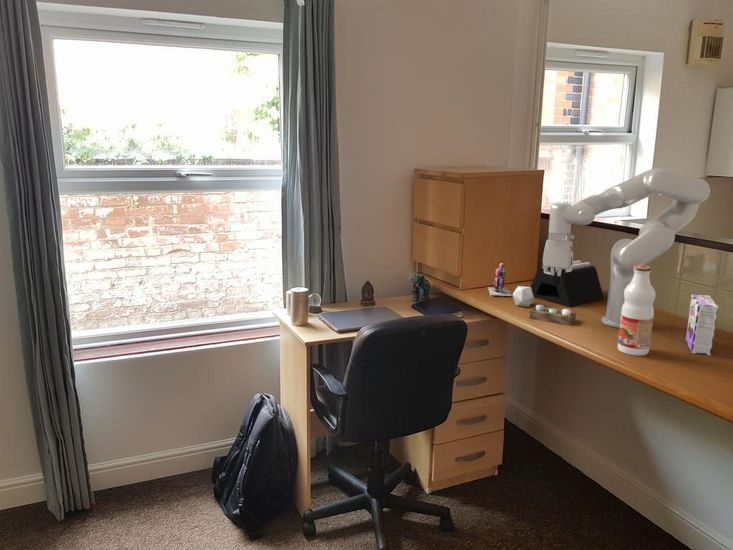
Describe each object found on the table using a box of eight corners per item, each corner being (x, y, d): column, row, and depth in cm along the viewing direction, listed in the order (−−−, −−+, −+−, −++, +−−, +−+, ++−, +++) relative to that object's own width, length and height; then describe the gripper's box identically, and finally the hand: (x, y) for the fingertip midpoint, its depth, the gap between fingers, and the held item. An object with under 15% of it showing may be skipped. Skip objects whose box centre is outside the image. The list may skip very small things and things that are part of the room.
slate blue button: (544, 314, 222) (545, 305, 222) (542, 316, 220) (542, 307, 219) (537, 312, 224) (537, 304, 223) (534, 314, 222) (535, 306, 221)
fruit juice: (651, 357, 181) (661, 270, 174) (618, 354, 184) (627, 268, 177) (646, 347, 189) (656, 264, 183) (615, 344, 192) (624, 262, 186)
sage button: (557, 318, 220) (558, 309, 219) (555, 320, 217) (555, 311, 217) (549, 316, 221) (550, 308, 221) (547, 318, 219) (547, 309, 218)
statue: (511, 300, 251) (515, 267, 245) (490, 299, 251) (493, 266, 246) (508, 290, 261) (511, 259, 256) (487, 289, 262) (490, 258, 256)
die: (535, 305, 240) (525, 285, 243) (539, 300, 232) (529, 279, 234) (517, 313, 240) (507, 292, 242) (521, 308, 231) (510, 286, 234)
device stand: (526, 295, 253) (529, 262, 250) (560, 289, 266) (563, 257, 262) (569, 308, 235) (572, 272, 232) (603, 300, 247) (607, 265, 244)
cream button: (571, 318, 217) (571, 309, 216) (568, 320, 214) (569, 311, 214) (563, 317, 218) (563, 308, 218) (560, 319, 216) (561, 310, 215)
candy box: (684, 339, 197) (691, 293, 193) (704, 342, 195) (711, 295, 191) (690, 353, 185) (697, 303, 181) (711, 355, 183) (719, 305, 179)
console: (575, 320, 218) (576, 312, 218) (569, 325, 212) (570, 317, 211) (536, 313, 227) (537, 306, 226) (529, 318, 220) (529, 310, 220)
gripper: (582, 237, 211) (579, 286, 216) (542, 234, 220) (539, 281, 224) (577, 240, 205) (573, 290, 210) (535, 237, 214) (533, 285, 218)
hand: (555, 285), depth 217 cm, fingers closed
